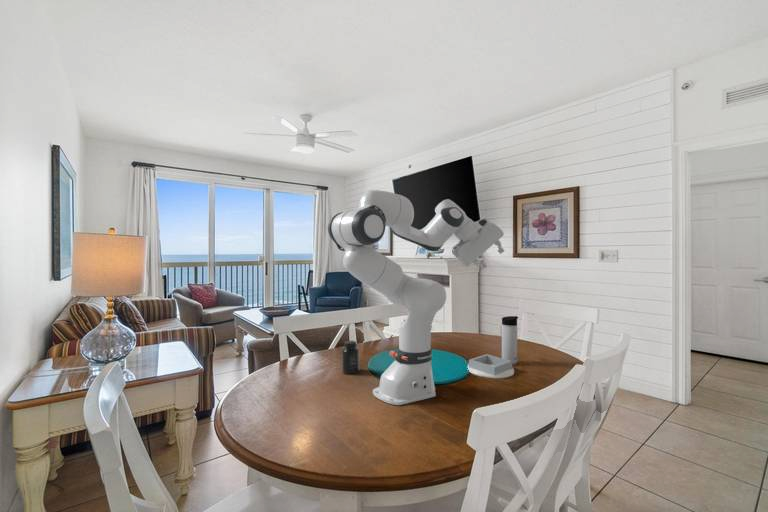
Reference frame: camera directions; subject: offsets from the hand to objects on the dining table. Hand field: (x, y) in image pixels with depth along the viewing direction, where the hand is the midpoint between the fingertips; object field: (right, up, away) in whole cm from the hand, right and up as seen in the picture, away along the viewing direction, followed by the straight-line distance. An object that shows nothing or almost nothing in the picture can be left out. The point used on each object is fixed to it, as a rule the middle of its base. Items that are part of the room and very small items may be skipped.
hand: (494, 260), depth 136 cm
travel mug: (+12, -44, +16) cm, 49 cm away
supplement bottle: (-55, -45, +7) cm, 72 cm away
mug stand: (+1, -44, +7) cm, 45 cm away
